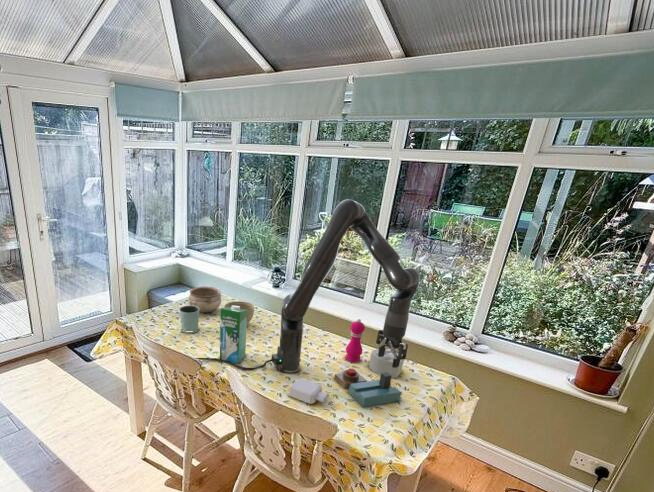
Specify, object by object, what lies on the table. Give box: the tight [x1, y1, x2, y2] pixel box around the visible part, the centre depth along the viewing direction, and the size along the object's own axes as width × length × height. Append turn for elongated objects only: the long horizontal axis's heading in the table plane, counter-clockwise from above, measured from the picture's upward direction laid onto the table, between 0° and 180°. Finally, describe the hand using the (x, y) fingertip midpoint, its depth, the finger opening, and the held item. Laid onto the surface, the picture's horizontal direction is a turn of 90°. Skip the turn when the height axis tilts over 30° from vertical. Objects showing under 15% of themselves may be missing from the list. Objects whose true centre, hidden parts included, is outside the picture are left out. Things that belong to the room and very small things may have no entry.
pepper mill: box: [345, 318, 366, 363], centre depth 184 cm, size 7×7×20 cm
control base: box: [348, 379, 402, 408], centre depth 159 cm, size 16×10×5 cm, turn 106°
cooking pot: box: [187, 286, 222, 314], centre depth 237 cm, size 25×19×12 cm
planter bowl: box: [223, 300, 256, 327], centre depth 220 cm, size 16×16×11 cm
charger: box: [288, 377, 333, 405], centre depth 157 cm, size 5×9×15 cm
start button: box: [347, 368, 357, 376], centre depth 168 cm, size 3×3×2 cm
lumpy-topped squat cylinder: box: [368, 348, 405, 379], centre depth 178 cm, size 10×13×9 cm
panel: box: [334, 369, 368, 389], centre depth 169 cm, size 10×8×4 cm
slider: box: [379, 372, 392, 389], centre depth 159 cm, size 3×3×6 cm
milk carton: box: [219, 305, 248, 365], centre depth 183 cm, size 9×9×25 cm
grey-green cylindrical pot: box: [178, 305, 200, 334], centre depth 213 cm, size 10×10×12 cm
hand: (387, 361), depth 155 cm, fingers open, 8 cm apart
